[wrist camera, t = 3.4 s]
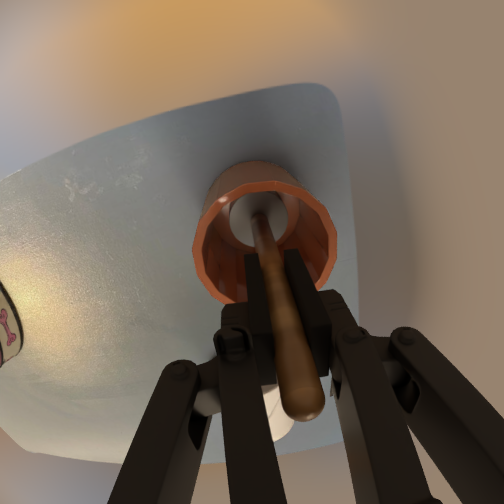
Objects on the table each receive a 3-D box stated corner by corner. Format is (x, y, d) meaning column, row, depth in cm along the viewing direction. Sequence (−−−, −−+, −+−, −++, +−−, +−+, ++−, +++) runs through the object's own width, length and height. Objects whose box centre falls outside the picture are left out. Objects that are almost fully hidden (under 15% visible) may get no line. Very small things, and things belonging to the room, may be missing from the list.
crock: (198, 167, 27) (181, 192, 18) (301, 156, 27) (336, 175, 18) (213, 260, 30) (206, 321, 21) (306, 249, 31) (335, 305, 22)
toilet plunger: (226, 187, 27) (213, 377, 7) (281, 181, 27) (395, 347, 7) (232, 238, 29) (238, 459, 9) (284, 231, 29) (368, 438, 9)
